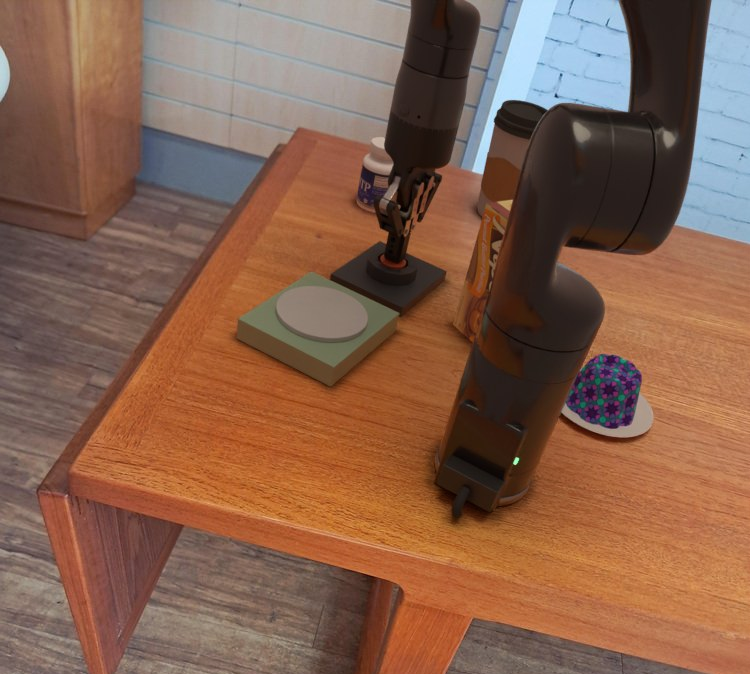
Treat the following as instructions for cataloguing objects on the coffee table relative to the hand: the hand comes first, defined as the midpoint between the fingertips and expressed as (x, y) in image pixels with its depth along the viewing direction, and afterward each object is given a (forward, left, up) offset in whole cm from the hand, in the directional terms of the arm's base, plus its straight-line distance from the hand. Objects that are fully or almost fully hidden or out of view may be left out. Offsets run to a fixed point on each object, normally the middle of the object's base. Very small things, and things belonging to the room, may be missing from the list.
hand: (394, 259), depth 95 cm
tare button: (0, 0, -2) cm, 2 cm away
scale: (-16, 0, -3) cm, 16 cm away
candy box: (-3, -15, -3) cm, 16 cm away
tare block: (0, 0, -3) cm, 3 cm away
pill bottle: (+17, +12, -3) cm, 21 cm away
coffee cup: (+30, -2, -3) cm, 30 cm away
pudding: (-5, -30, -3) cm, 31 cm away
